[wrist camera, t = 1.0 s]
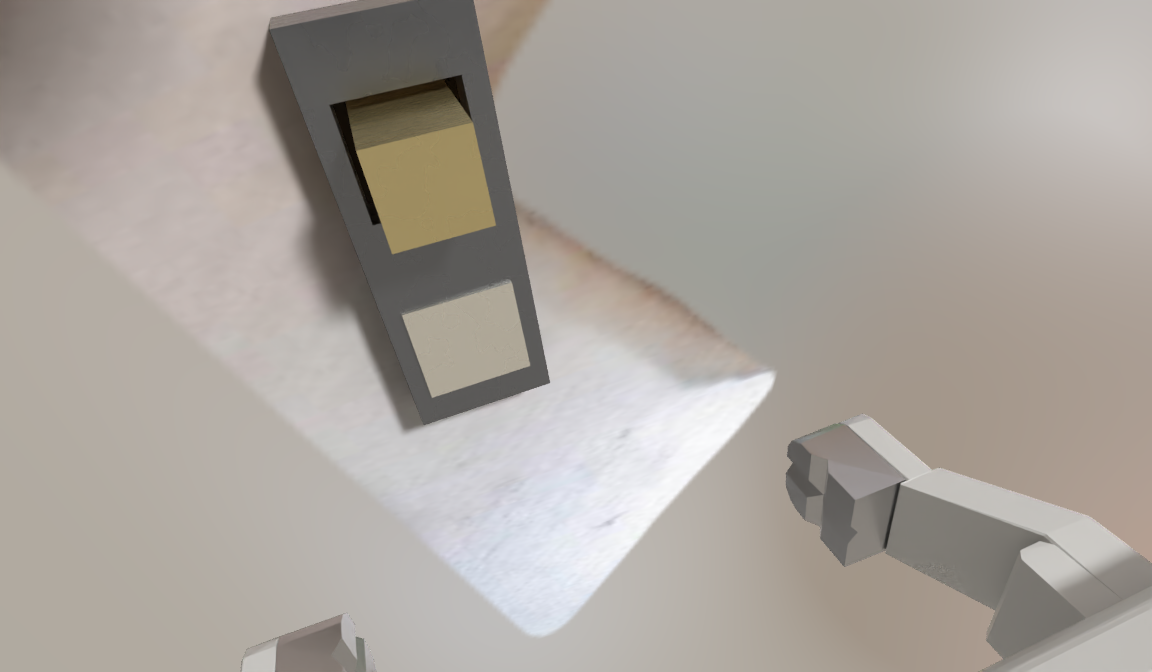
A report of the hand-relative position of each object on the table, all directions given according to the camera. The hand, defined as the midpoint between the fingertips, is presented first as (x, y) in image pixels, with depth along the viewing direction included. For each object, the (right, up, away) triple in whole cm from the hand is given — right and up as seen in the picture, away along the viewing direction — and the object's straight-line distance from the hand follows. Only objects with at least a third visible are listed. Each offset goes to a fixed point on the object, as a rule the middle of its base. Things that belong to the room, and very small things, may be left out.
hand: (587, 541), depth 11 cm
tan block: (-8, +13, +20) cm, 25 cm away
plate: (-8, +9, +23) cm, 26 cm away
